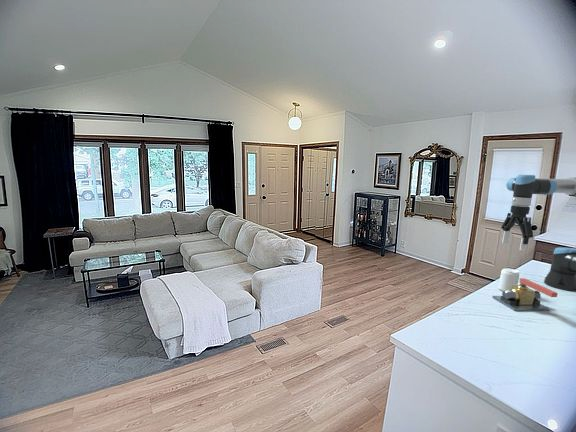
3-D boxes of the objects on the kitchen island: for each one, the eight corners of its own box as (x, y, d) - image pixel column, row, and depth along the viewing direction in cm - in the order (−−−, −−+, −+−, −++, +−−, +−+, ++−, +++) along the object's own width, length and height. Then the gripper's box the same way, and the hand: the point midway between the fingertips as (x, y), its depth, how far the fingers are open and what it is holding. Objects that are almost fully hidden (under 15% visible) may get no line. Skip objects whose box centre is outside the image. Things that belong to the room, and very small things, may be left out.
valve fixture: (524, 297, 159) (527, 280, 157) (548, 310, 145) (552, 292, 143) (492, 297, 157) (495, 280, 155) (514, 310, 143) (517, 292, 142)
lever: (518, 284, 150) (519, 278, 150) (523, 284, 151) (524, 278, 150) (550, 300, 133) (552, 292, 133) (556, 300, 134) (557, 292, 133)
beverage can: (519, 294, 163) (523, 273, 161) (504, 293, 163) (508, 272, 161) (509, 288, 171) (512, 268, 169) (495, 287, 171) (498, 267, 169)
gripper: (497, 202, 162) (491, 240, 166) (530, 209, 138) (522, 253, 142) (512, 202, 162) (505, 240, 166) (547, 209, 137) (539, 254, 141)
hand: (513, 246), depth 154 cm, fingers open, 13 cm apart
